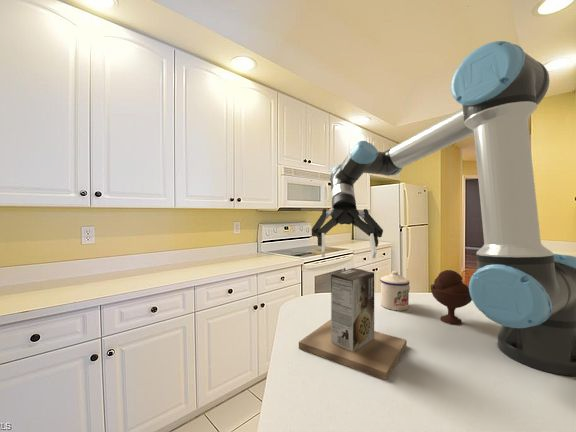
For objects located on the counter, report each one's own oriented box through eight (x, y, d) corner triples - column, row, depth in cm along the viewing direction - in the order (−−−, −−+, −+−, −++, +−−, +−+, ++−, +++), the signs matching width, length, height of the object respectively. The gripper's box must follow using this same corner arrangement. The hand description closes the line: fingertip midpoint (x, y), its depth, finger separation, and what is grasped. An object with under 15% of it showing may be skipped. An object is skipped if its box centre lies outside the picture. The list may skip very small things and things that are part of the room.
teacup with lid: (397, 313, 85) (397, 276, 84) (374, 304, 93) (374, 270, 92) (420, 306, 91) (421, 271, 91) (397, 298, 99) (397, 266, 98)
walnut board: (406, 346, 65) (406, 339, 65) (386, 380, 52) (386, 372, 52) (330, 324, 76) (330, 319, 76) (298, 348, 64) (298, 341, 63)
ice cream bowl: (481, 330, 73) (482, 274, 72) (436, 327, 75) (437, 272, 75) (464, 315, 83) (465, 266, 83) (424, 312, 85) (425, 265, 85)
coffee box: (352, 330, 70) (352, 267, 69) (375, 339, 65) (375, 271, 64) (329, 342, 63) (329, 273, 63) (353, 353, 59) (353, 278, 58)
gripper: (381, 209, 90) (393, 263, 75) (305, 209, 92) (303, 261, 78) (385, 192, 84) (399, 247, 70) (304, 192, 87) (302, 245, 72)
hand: (348, 255), depth 74 cm, fingers open, 13 cm apart
